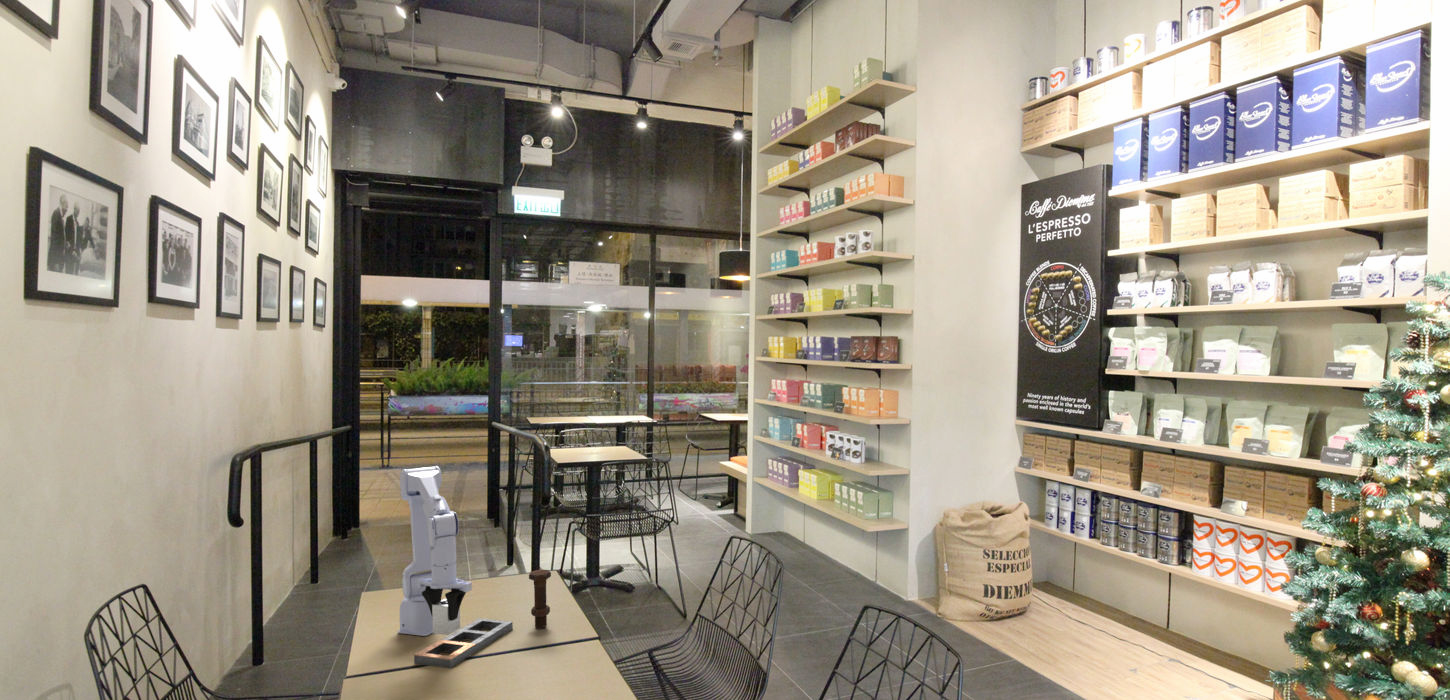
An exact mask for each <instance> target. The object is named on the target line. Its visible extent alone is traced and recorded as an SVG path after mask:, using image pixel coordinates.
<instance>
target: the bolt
mask: <svg viewBox="0 0 1450 700" xmlns="http://www.w3.org/2000/svg"><path fill="white" fill-rule="evenodd" d="M551 576H552V572H551V571H550V570H549V569H537V570H536V569H535V570H532V571H530V573H529V574H528V579H529V580H530V581H531V580H532V581H533V590H534V591H533V593H534V597H533V598H534V606H532V608H531V609H530V610H531V611H530V614H531V615H532V616H533V617H534V628H536V629H545V628H546V627H547V625H548V623H547V622H548V618H547V616H548V615H549V614H550V612H551V607H550V606H549V605H547V580H548V579H550V578H551Z"/></svg>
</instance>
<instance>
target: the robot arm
mask: <svg viewBox="0 0 1450 700" xmlns="http://www.w3.org/2000/svg"><path fill="white" fill-rule="evenodd" d="M442 480H443V476H442V471H441V468H440V467H439V466H438V465H434V466H427V467H416V468H403V469H402V470H401V471H400V475H399V487H400V491H399V492H400V496H401V500H404V501H407V503H408V507H409V513H410V514H409V515H410V531H411V545H412V546H411V547H412V549H411V550H412V562H410V564H408V565H407V566H406V567H405V568H404V570H403V571H402V583H401V585H402V594H403V597H404V598H403V599H402V601H401V603H400V606H399V630H397V633H398V634H406V635H412V636H413V635H415V636H420V637H421V636H422V637H427V636H429V635H431V634H434V633H433V618H432V605H433V604H435V603H437V602H439V601H441V600H442V595H443V591H444V590H449V591H448V592H446V593H445V594H444V595H445V599H447V602H448V607H449V619H450V621H453V620H455V619H457V617H458V612H459V608H461V605H462V602H463V599H464V598H465V595H466V593H469V592H470V591H472V589H473V586H472V581H467V580H463V579H460V578H458V577H457V537H456V536H458V535H459V533H460V531H459V530H460V523H459V522H460V521H459V517H458V514H457V512H456V511H454V510H451V509H450V507H449V504H448V502H447V500H446V498H445V497H444V496H441V495H440V493H439V490H440V488H441V485H442Z"/></svg>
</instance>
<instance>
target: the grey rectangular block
mask: <svg viewBox="0 0 1450 700" xmlns="http://www.w3.org/2000/svg"><path fill="white" fill-rule="evenodd" d="M460 608H461V607H460ZM460 608H459V612H458V617H457V619H455V620H453V621H450V619H449V607H448V602H447V599H446V598H443V599H441V601H439V602H437V603H435V604H433V605H432V618H433V633H432V634H436V635H442V636H443V635H444V636H445V635H446V636H449V635H451V634H453V633H454V632H456V631H458V630H460V629H461V609H460Z"/></svg>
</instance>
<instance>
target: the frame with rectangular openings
mask: <svg viewBox="0 0 1450 700" xmlns="http://www.w3.org/2000/svg"><path fill="white" fill-rule="evenodd" d="M513 627H514V626H513V621H508V620H500V619H491V618H490V619H489V618H481V617H479V618H477V619H476V620H474V621H472V622H470V623H469V624H467V625H465V626H463V627H462V628H461V627H460V629H458V630H456V631H455V632H453V633H451V634H449V635H446V636H445V637H444V638H442V639H439V640H437V641H436V642H434V643H432V644H430V645H429V646H426V647H425V648H423V649H421V650H420V651H418V652H416V653H415V654H414V655H413V656H414V657H413V658H414V659H413V660H414V661H413V664H414V665H421V666H422V665H423V666H429V667H430V666H431V667H436V668H437V667H438V668H443V669H444V668H445V669H452V668H454V667H455V666H457V665H458V664H461V663H462V662H463V661H465V660H467V659H468V658H470V657H471V656H473V655H474V654H476V653H478V652H479V651H480V650H483V649H484V648H485V647H487V646H488V645H489V644H492V643H494V642H495V641H497V640H498V639H499V638H501V637H503V636H504V635H505V634H507V633H509V632H510V631H512V630H513ZM483 629H487V630H489V631H482V630H483ZM465 639H468V640H467V641H471V642H465V641H463V640H465ZM461 640H462V641H463V642H462V641H461ZM459 641H460V642H459ZM444 652H445V653H450V654H447V655H444V654H441V653H444ZM472 654H473V655H472ZM470 655H471V656H470ZM469 656H470V657H469ZM466 658H467V659H466Z"/></svg>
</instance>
